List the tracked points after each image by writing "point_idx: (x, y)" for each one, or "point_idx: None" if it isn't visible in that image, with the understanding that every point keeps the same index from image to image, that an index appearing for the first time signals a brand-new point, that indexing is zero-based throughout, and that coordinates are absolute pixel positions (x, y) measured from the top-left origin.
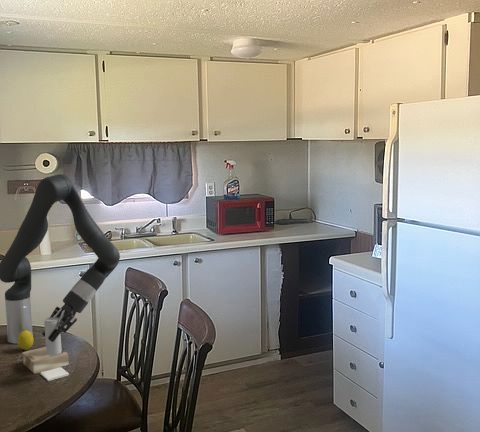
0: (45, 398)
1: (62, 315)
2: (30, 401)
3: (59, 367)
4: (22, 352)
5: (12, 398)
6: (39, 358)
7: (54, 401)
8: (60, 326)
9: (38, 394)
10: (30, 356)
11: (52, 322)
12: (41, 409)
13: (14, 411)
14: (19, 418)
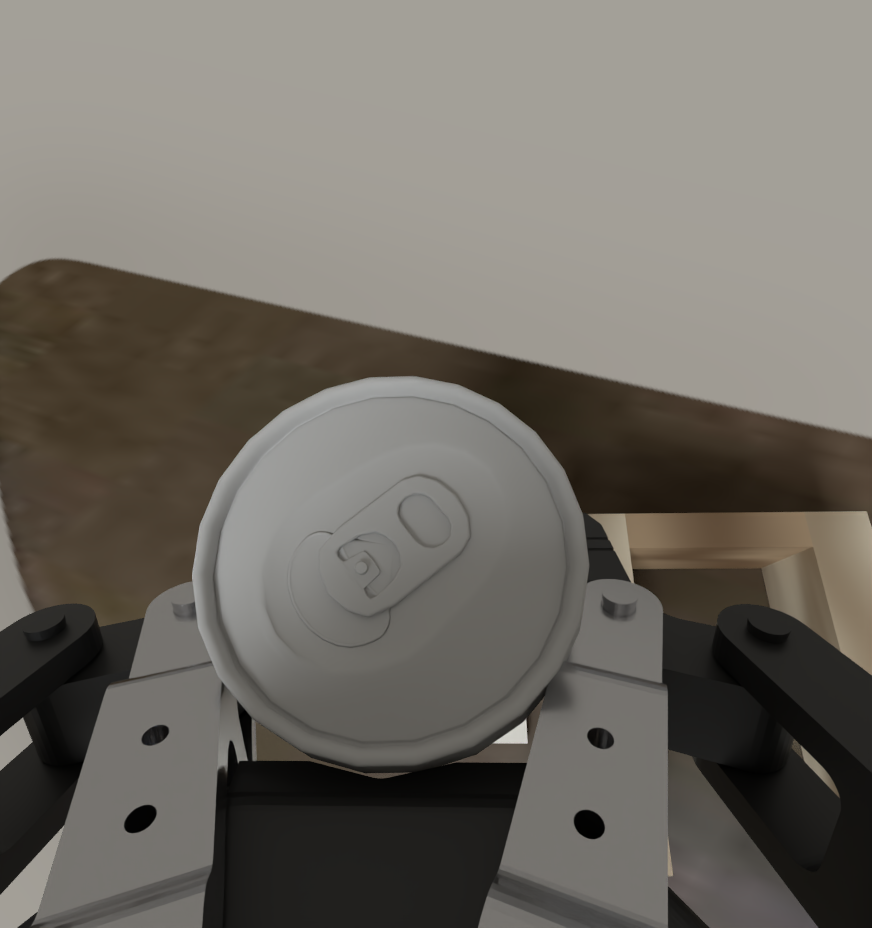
0: (144, 474)
1: (84, 876)
2: (179, 401)
3: (524, 729)
4: (865, 512)
5: (289, 342)
6: (631, 582)
7: (66, 500)
8: (45, 645)
9: (226, 460)
10: (727, 537)
11: (227, 508)
12: (45, 416)
13: (142, 315)
14: (56, 314)
